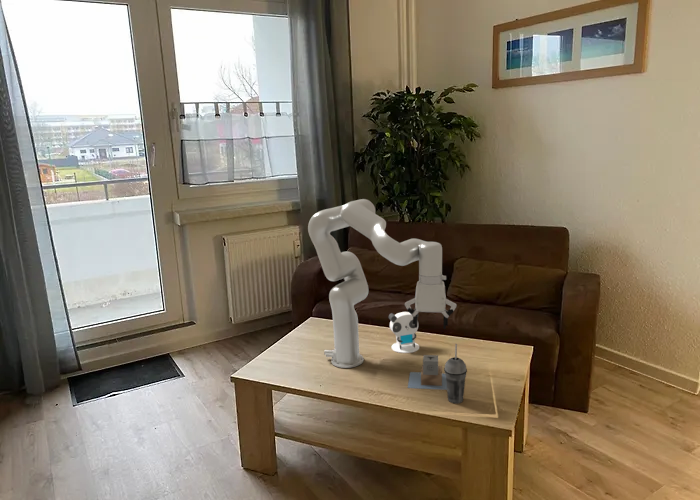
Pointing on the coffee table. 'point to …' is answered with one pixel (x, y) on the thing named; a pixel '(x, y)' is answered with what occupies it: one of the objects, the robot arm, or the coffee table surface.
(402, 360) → the coffee table surface
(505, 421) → the coffee table surface
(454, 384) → the beverage cup
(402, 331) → the panda figurine
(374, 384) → the coffee table surface
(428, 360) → the grey symbol cube
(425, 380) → the light brown plinth
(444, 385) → the blue board
